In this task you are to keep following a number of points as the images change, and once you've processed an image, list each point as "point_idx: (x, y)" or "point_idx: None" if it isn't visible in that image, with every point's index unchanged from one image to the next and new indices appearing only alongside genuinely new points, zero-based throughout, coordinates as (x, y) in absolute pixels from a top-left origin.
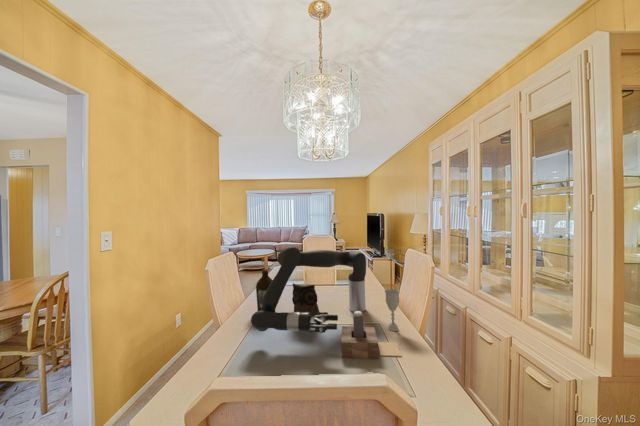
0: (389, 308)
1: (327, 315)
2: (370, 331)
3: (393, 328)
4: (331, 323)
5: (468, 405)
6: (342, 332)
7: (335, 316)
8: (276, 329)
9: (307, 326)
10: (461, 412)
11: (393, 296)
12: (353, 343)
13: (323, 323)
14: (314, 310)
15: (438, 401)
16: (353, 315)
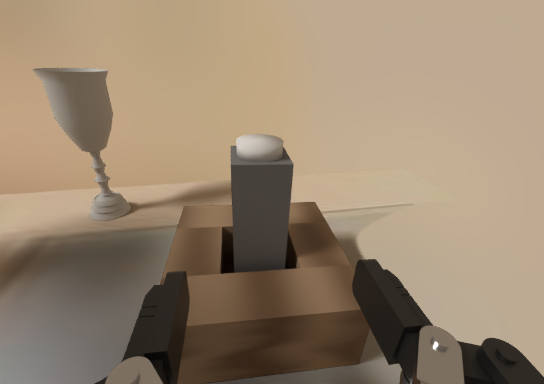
0: (93, 144)
1: (158, 377)
2: (226, 214)
3: (124, 204)
4: (386, 290)
5: (384, 170)
6: (247, 315)
7: (181, 291)
8: None
9: None
10: (405, 176)
11: (104, 85)
12: (346, 262)
13: (451, 374)
14: None
15: (401, 187)
16: (273, 164)
